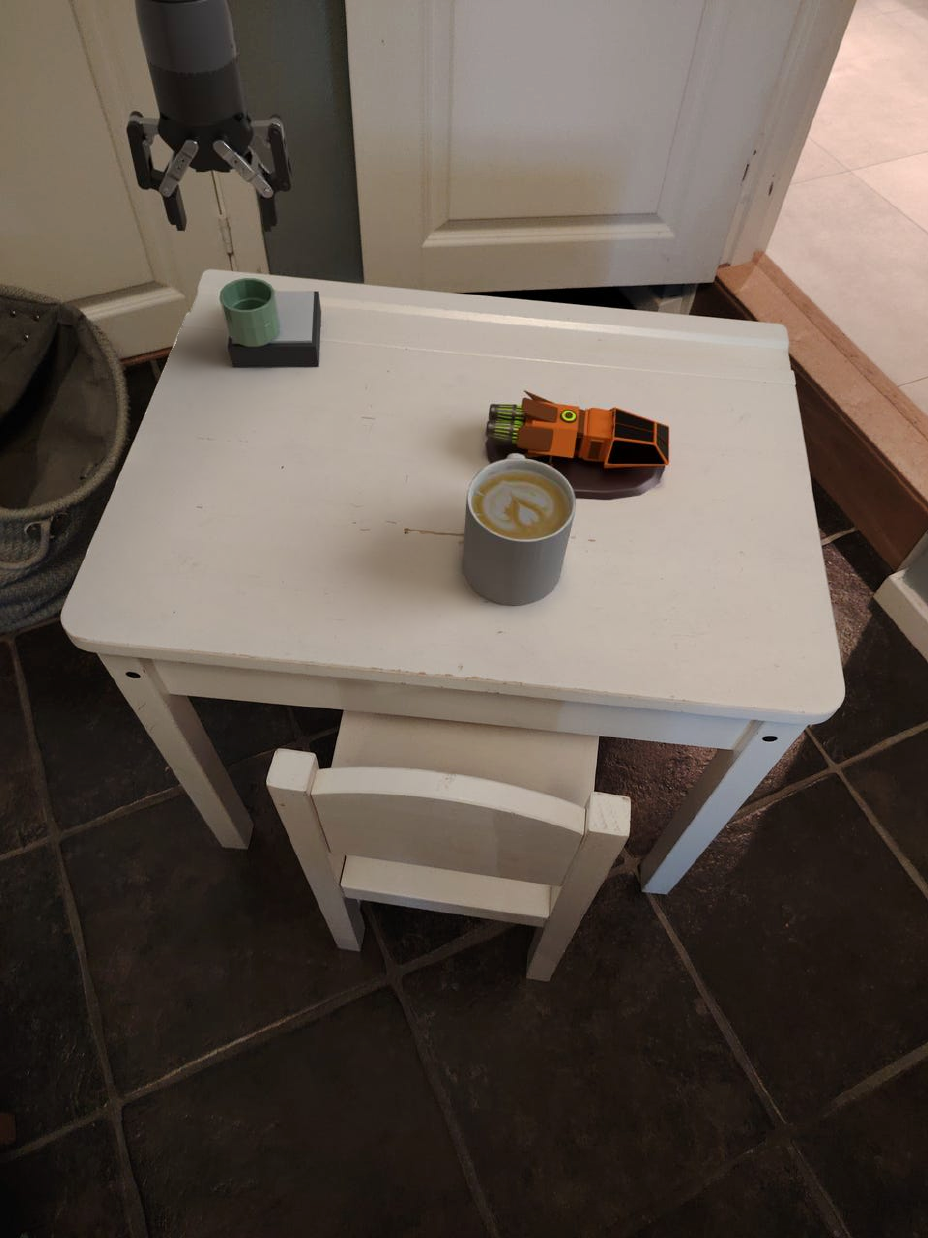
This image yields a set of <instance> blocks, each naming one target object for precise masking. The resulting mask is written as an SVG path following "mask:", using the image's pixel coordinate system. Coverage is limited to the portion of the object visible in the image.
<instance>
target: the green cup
mask: <svg viewBox="0 0 928 1238" xmlns="http://www.w3.org/2000/svg"><path fill="white" fill-rule="evenodd" d="M219 302H220V303H219V304H220V306H221V310H222V315H223V319H224V323H225V328H226V332H227V334H228V337H229V336H230V338H231V339H232V340H234V341H235V342H237V343H239V344H241V345H243V346H247V347H259V346H263V345H266V344H268V343H270V342H271V341H272V340H274V339H275V338H276V336H277V335H278V333H279V332H280V320H279V314H278V308H277V302H276V296H275V289H274V287H273V286H272V284H270V283H268V282H267V281H266V280H263V279H259V278H254V277H243V278H239V279H235V280H233V281H230V282H229V283H227V284H226V285H224V286H223V288H221V290H220V293H219Z"/></svg>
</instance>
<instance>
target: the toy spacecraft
mask: <svg viewBox="0 0 928 1238" xmlns="http://www.w3.org/2000/svg"><path fill="white" fill-rule="evenodd" d="M523 392H524V393H525V394H526V395H527V396H528V397H522V399H521V400H522V401H521V404H516V403H515V404H513V403H509V404H508V403H491V404H490V405H489V410H488V420H487V423H486V427H485V429H486V430H485V437H486V438H487V440H486V441H485V443H484V444H485V448H486V455H487V459H488V460H487V461H488V462H489V463H490V464H492V463H495V462H497V461H501V460H505V459H506V458H507V457H508V455H510V454H512V453H517V454H521V455H523V456H524V457H525V459H530V460H535V461H538V462H542V463H544V464H547V465H549V466H550V467H552V468H554V469H556V470H557V471H558V472H560V473H561V474H562V475H563V476H564V477H565V478H566V479H567V480H568V482H569V483H570V485H571V487H572V488H573V491H574V494H575V497H576V499H587V500H588V499H589V500H590V499H591V500H616V499H623V498H629V497H636V496H641V495H643V494H645V493H646V492H648V491H649V490H650V489H652V488H653V487H655V486H657V485H658V484H660V483H661V479H662V477H663V474H664V472H665V469H666V466H669V465H670V425H667V424H664V423H662V422H658V421H655V420H654V419H650V418H647V417H644V416H641V415H639V414H635V413H632V412H630V411H628V410H624V409H622V408H618V407H615V406H614V407H612V408H610V409H608V410H607V409H604V408H599V407H590V408H585V410H584V409H582V408H580V406H577V405H571V404H570V405H569V404H563V403H562V404H560V403H555V402H553V401H551V400H548V399H546V398H544V397H542V396H539V395H537V394H534V393H532V392H530V391H528V390H525V389H523Z"/></svg>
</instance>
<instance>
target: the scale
mask: <svg viewBox="0 0 928 1238" xmlns="http://www.w3.org/2000/svg"><path fill="white" fill-rule="evenodd" d="M274 291H275V290H274ZM275 296H276V302H277V308H278V314H279V320H280V332H279V333H278V335H277V336H276V338H275V339H274V340H272V341H271V342H270V343H268V344H266V345H263V346H259V347H247V346H243V345H241V344H239V343H237V342H235V341H234V340H232V339H231V338H230V336H229V335H228V340H227V351H228V356H229V359H230V363H231V367H232V368H235V369H236V368H239V369H240V368H318V367H320V346H321V325H322V307H321V300H320V291H317V290H315V291H314V290H286V291H285V290H276V291H275Z"/></svg>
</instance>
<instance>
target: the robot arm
mask: <svg viewBox="0 0 928 1238" xmlns="http://www.w3.org/2000/svg"><path fill="white" fill-rule="evenodd" d="M134 7H135V16H136V22H137V26H138V30H139V35H140V39H141V43H142V47H143V51H144V55H145V60H146V63H147V68H148V71H149V77H150V80H151V84H152V88H153V91H154V92H153V93H154V96H155V101H156V105H157V109H158V114H159V117H158V118H152V117H145V116H144V115H143V114H142V112H140V111H137V110H133V111H131V112H130V114H129V117H128V121H127V125H126V129H125V130H126V131H125V132H126V136H127V140H128V144H129V149H130V154H131V158H132V163H133V168H134V173H135V177H136V181H137V185H138V187H139V188H140V189H142V190H143V191H148V190H153V191H156V192H158V193H159V194H160V195H161V198H162V203H163V205H164V209H165V213H166V217H167V221H168V222H169V224H170V225H171V226H175V228H176V231H177V232H185V231H186V229H187V222H188V221H187V220H188V219H187V214H186V210H185V205H184V201H183V198H182V193H181V189H180V185H179V182H180V181H182V179H183V177H184V175H185V173H186V171H187V170H188V168H190V169H192V170H195V172H196V173H207V172H212V171H214V172H217V173H224V174H227V173H231V171H232V170H234V171H235V172H236V173H237V174H238V175H239V176H240V177H241V178H242V180H244V182H246V183H250V184H251V185H252V186H253V188H254V189H255V190H256V191H257V192H258V193H259V196H258V200H259V207H260V208H259V209H260V213H261V220H262V226H263V231H264V233H272V232H273V227H277V225H278V219H279V210H278V204H277V203H278V202H277V197H276V194H277V193H279V192H283V193H284V192H285V193H287V192H289V191H290V190H291V189H292V177H293V170H292V163H291V158H290V151H289V147H288V142H287V137H286V130H285V126H284V120H283V117H282V116H281V115H279V114H277V113H272V114H271V115H270V117H269V119H258V120H257V119H256V120H255V119H252V118H251V117H250V115H249V113H248V111H247V109H246V104H245V98H244V92H243V85H242V77H241V72H240V66H239V59H238V53H237V47H236V46H237V45H236V43H237V39H236V33H235V28H234V27H233V22H232V16H231V12H230V8H229V5H228V0H134ZM157 135H159V137H160V138H161V140H162V141H163V142H164V143H165V145H167V146H168V147H169V148H170V149H171V150H172V153H171V155H170V157H169V160H168V162H167V164H166V166H165V168H164V170H163V171H162V170H159V169H156V168H155V166H154V162H153V155H152V152H151V146H152V145H153V144H154V140H155V136H157ZM254 137H258V138H259V140H260V141H261V143H262V145H263V146H264V147H265V148H267V149H270V151H271V156H272V160H273V161H272V162H273V166H274V171H273V172H271V171H270V170H269V169H268V168H267V166H266V165H265V164H264V163H263V162H262V161H261V159H260V157H259V155H258V154H257V152H256V151H255V150H254V149H253V148H252V147H251V146H250V145H251V143H252V141H253V139H254Z"/></svg>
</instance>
